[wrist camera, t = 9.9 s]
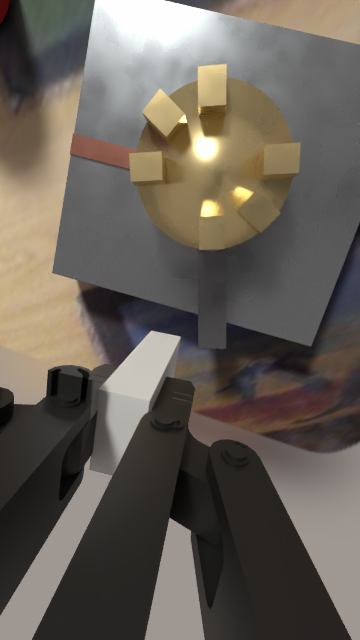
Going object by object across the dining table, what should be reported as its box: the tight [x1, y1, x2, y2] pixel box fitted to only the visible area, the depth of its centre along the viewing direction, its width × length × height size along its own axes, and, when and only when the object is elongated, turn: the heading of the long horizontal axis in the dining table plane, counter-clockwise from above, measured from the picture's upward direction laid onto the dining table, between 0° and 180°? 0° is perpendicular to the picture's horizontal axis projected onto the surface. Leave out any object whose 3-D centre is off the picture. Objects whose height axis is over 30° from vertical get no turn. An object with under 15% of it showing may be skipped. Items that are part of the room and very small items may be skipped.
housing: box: [52, 0, 360, 346], centre depth 24 cm, size 22×21×4 cm
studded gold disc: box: [129, 64, 301, 349], centre depth 21 cm, size 17×10×4 cm, turn 1°
